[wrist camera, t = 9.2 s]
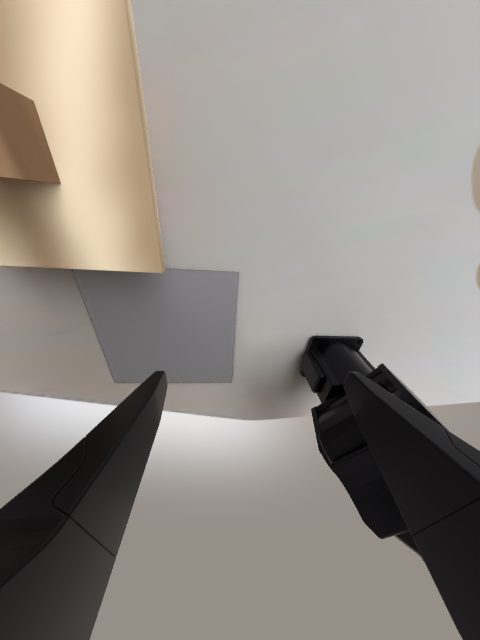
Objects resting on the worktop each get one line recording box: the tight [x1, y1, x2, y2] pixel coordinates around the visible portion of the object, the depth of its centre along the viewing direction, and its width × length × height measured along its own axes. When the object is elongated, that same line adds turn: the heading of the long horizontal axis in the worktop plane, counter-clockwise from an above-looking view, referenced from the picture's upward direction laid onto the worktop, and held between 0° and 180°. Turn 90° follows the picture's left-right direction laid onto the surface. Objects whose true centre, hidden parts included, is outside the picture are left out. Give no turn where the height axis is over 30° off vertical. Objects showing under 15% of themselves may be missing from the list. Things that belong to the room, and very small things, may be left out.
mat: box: [72, 268, 239, 383], centre depth 22 cm, size 15×15×1 cm
